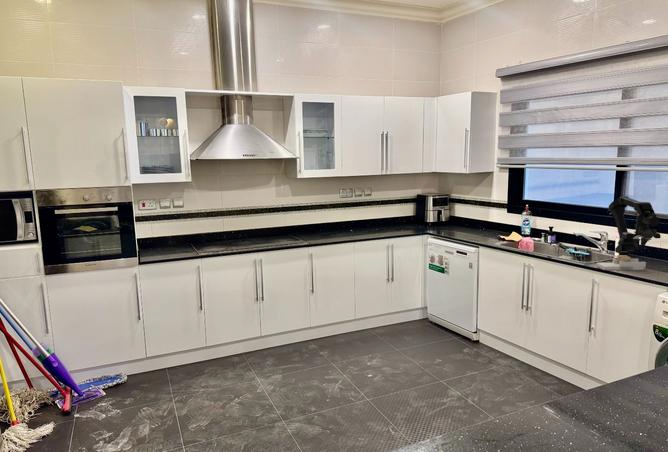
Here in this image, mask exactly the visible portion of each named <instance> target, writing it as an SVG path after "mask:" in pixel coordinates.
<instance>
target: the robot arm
mask: <svg viewBox="0 0 668 452" xmlns="http://www.w3.org/2000/svg"><path fill="white" fill-rule="evenodd" d="M627 207H630V208H633V210H634V211H635V213H634V216H636V220H635V221H636V222H635V223H636V224H634V227H635V231H633V233H632V232H630V231H628V227H627V223H626V219H625V216H624V215H625V212H626V208H627ZM608 209H609V210H608V211H609V213H610V214H611V216H613V217H614V221H615V225H616V228H617V232H618V237H619V238H618V242H617V246H616V247H615V248H614V252H615V253H617V254H618V255H626V256H629V257H630V254H634V252H635V249H636V250H638V251H640V250H641V251H643V250H644V248H645V247H646V245H647V243H648V242H650V241H651V240H652V239H653V238H654V239H661V236H662V235H661V234H660V233H659V232H657V230H656V229H650V227H657V226H659V224H660V218H659V217H658V216H657V214H655V213H656V212H655V210H654V207H653V205H652V203H651V202H650V201H638V200H636V199H633V198H630V197H628V196H620V197H618V198H617V199H615V200H614V201H611V203H609V205H608Z"/></svg>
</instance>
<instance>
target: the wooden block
mask: <svg viewBox="0 0 668 452" xmlns="http://www.w3.org/2000/svg"><path fill="white" fill-rule="evenodd" d="M616 259H617V264H619V263H620V262H630V261H631V259H632V258H631V256H630V255H629V256H626V255H619V254H618V255H617V258H616Z"/></svg>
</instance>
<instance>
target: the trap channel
mask: <svg viewBox="0 0 668 452" xmlns="http://www.w3.org/2000/svg"><path fill="white" fill-rule="evenodd" d="M646 264H647V262H646V261H639V258H631V261H630V262H620V263H619V264H617V258H612V262H596V267H598V268H600V269H602V270H603V271H607V270H608V271H615V270H616V271H620V270H621V271H628V270H629V271H631V270H632V271H633V270H634V271H639V270H640V271H646V268H647V267H646V266H647V265H646Z"/></svg>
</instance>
